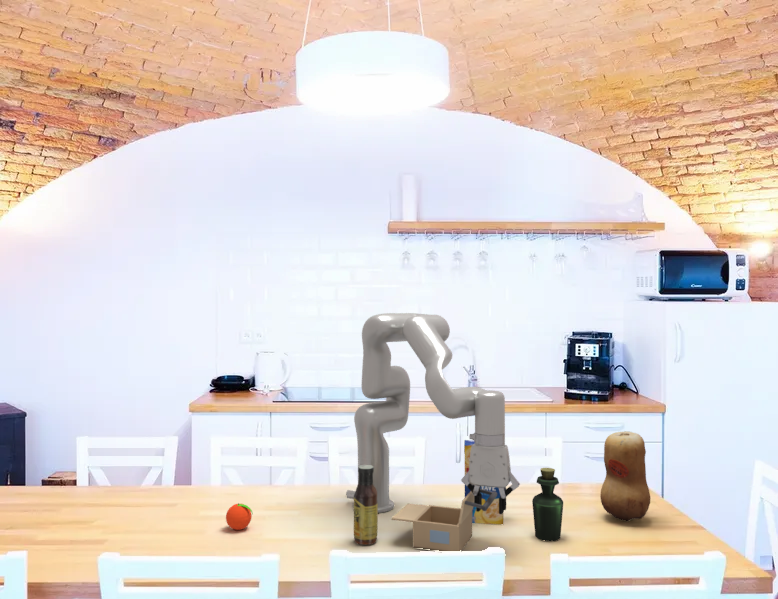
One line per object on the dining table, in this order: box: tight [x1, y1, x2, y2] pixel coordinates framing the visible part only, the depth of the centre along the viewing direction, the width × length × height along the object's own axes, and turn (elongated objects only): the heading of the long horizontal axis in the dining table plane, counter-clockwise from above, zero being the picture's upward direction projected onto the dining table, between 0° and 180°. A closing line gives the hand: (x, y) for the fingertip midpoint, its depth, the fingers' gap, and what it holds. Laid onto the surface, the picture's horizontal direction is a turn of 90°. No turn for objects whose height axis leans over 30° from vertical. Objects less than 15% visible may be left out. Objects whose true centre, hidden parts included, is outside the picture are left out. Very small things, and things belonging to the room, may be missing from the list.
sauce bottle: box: [353, 465, 379, 546], centre depth 175 cm, size 7×6×20 cm
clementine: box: [225, 502, 254, 531], centre depth 185 cm, size 8×7×7 cm
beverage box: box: [463, 439, 504, 525], centre depth 193 cm, size 7×11×22 cm, turn 83°
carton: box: [391, 503, 473, 551], centre depth 176 cm, size 18×14×7 cm
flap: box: [458, 489, 497, 525], centre depth 172 cm, size 6×13×6 cm
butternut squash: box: [600, 430, 651, 522], centre depth 193 cm, size 14×13×25 cm
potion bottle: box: [532, 467, 564, 542], centre depth 179 cm, size 8×8×18 cm
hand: (490, 510), depth 171 cm, fingers open, 5 cm apart
